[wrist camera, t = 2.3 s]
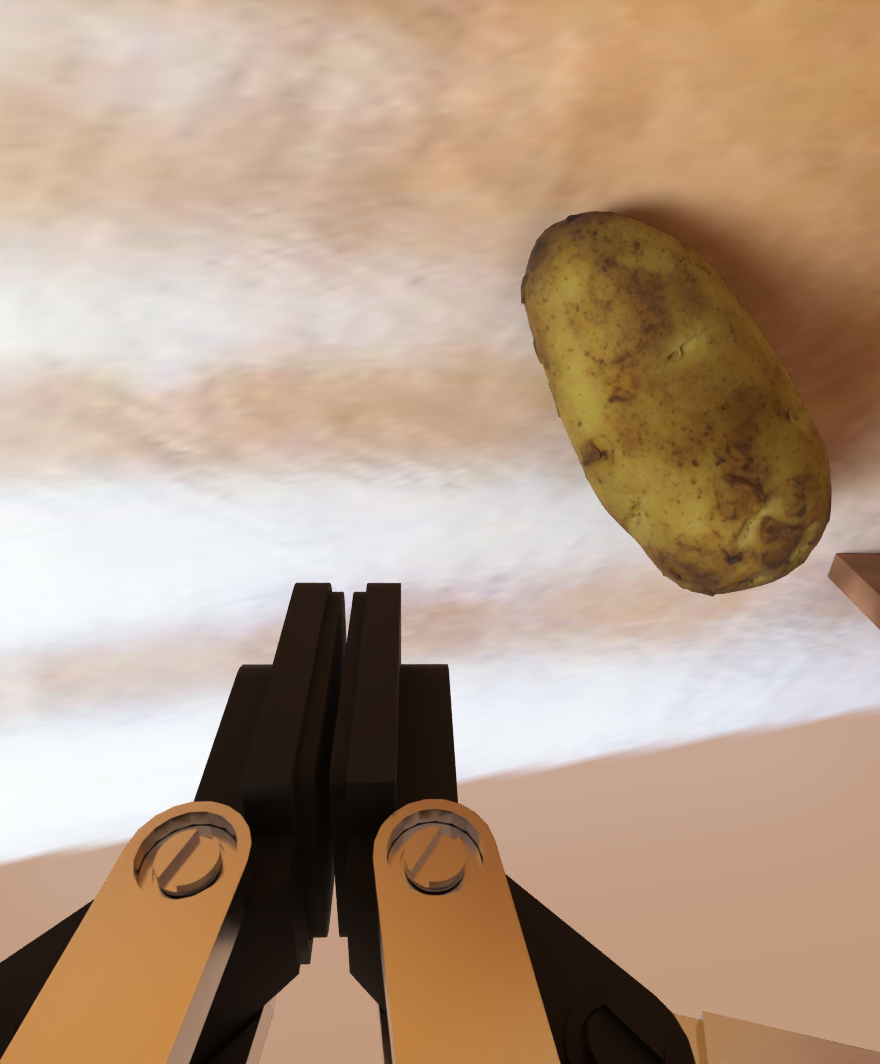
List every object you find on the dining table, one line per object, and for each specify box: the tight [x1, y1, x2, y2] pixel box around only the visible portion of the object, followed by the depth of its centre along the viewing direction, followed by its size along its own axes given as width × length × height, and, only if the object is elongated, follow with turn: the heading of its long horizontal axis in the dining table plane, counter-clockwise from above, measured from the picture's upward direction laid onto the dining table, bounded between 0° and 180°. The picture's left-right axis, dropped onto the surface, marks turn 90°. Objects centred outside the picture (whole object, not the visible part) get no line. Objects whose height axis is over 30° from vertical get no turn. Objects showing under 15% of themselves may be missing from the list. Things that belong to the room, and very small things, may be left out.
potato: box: [521, 211, 831, 596], centre depth 23 cm, size 8×13×8 cm, turn 17°
